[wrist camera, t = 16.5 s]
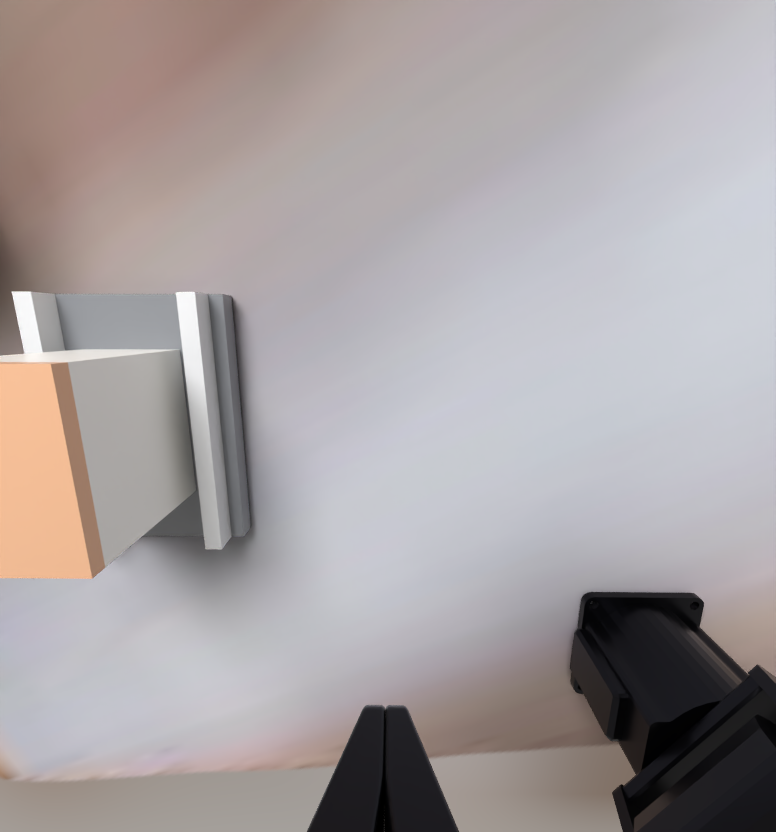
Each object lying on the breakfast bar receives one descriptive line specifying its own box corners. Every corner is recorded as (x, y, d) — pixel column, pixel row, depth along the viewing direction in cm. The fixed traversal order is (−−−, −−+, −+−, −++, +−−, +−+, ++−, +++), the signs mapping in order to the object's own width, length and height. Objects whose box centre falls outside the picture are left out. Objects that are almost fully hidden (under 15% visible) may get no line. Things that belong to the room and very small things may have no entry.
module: (179, 349, 18) (50, 364, 11) (196, 490, 20) (91, 578, 13) (82, 349, 18) (-105, 363, 11) (107, 490, 20) (-45, 577, 13)
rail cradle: (231, 296, 18) (210, 291, 16) (250, 526, 21) (234, 549, 19) (42, 295, 18) (-4, 291, 16) (85, 525, 21) (51, 548, 19)
